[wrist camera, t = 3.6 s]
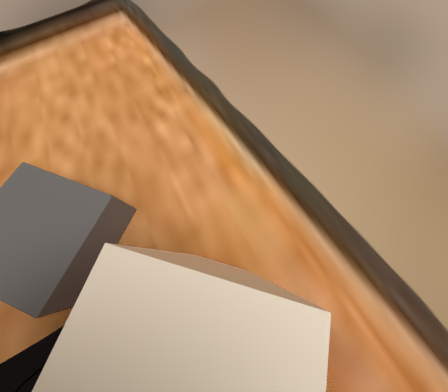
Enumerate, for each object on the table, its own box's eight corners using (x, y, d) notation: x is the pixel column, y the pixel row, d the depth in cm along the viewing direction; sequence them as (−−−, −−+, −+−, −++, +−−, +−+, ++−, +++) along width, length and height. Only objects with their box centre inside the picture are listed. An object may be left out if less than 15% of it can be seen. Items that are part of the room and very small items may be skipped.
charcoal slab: (87, 302, 14) (36, 318, 10) (7, 264, 15) (-68, 266, 11) (138, 210, 16) (112, 195, 13) (66, 182, 17) (22, 161, 14)
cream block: (233, 332, 13) (296, 833, 2) (177, 313, 13) (-80, 616, 2) (246, 269, 14) (330, 312, 3) (195, 254, 15) (104, 242, 3)
